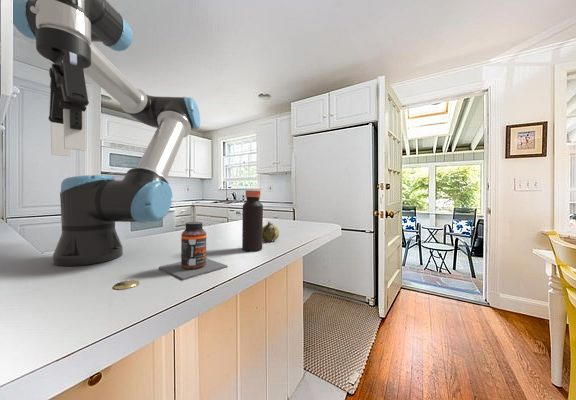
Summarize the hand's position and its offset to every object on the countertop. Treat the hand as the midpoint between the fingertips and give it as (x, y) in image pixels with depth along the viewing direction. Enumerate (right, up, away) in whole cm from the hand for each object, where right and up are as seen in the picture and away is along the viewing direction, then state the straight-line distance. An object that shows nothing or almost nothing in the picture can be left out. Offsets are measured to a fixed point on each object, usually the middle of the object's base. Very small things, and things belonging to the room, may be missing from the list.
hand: (67, 153), depth 45 cm
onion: (+35, -26, +50) cm, 66 cm away
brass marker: (+8, -27, +4) cm, 28 cm away
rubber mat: (+18, -26, +16) cm, 36 cm away
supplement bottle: (+18, -26, +16) cm, 35 cm away
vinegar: (+30, -26, +36) cm, 53 cm away
